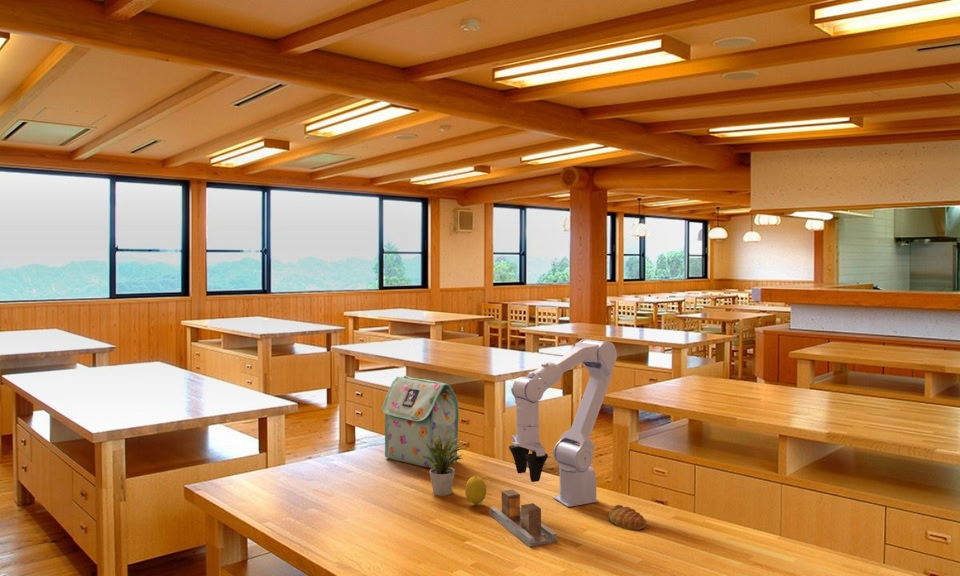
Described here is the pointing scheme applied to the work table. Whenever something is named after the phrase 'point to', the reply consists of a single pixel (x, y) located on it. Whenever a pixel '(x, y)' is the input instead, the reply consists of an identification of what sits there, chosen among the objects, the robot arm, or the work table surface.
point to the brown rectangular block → (511, 504)
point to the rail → (522, 532)
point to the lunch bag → (419, 419)
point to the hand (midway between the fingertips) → (528, 476)
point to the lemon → (475, 490)
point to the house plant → (442, 466)
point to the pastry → (626, 517)
